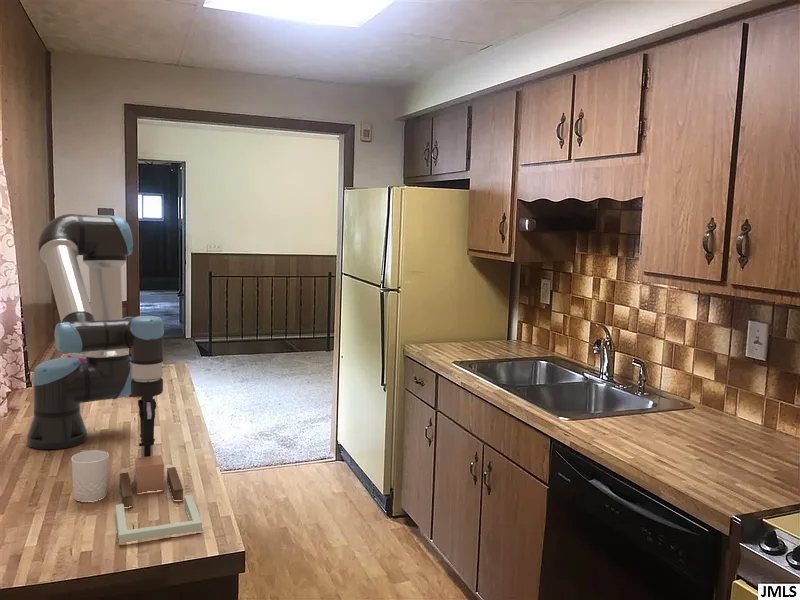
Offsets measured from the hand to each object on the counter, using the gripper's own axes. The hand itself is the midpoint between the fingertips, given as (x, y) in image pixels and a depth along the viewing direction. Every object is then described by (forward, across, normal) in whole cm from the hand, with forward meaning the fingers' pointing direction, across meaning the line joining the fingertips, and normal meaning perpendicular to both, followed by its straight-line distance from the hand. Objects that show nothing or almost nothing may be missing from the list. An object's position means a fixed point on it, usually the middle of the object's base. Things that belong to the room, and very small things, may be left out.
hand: (146, 468), depth 166 cm
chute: (+2, -11, 0) cm, 11 cm away
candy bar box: (+2, +114, +14) cm, 115 cm away
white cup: (+2, -9, +13) cm, 16 cm away
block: (+2, -8, 0) cm, 8 cm away
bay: (+2, -27, 0) cm, 27 cm away
